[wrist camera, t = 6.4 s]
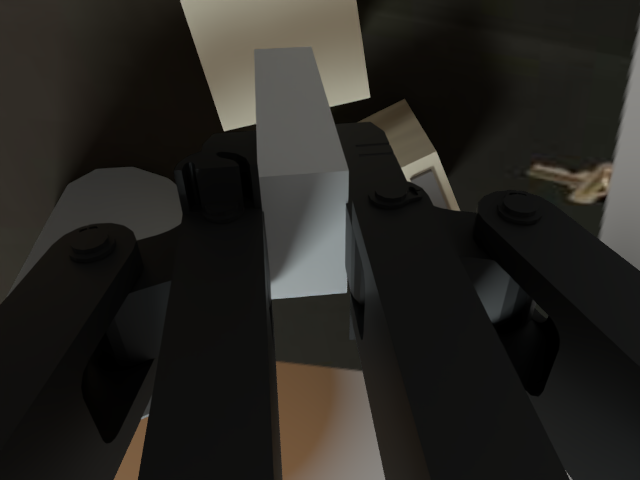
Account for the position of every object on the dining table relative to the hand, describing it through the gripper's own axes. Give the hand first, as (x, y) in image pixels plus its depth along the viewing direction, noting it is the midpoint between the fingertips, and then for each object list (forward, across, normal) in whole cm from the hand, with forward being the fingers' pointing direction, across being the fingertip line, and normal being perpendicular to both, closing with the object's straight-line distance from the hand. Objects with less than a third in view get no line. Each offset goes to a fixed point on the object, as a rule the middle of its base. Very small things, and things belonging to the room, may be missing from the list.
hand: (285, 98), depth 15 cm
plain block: (+12, 0, 0) cm, 12 cm away
